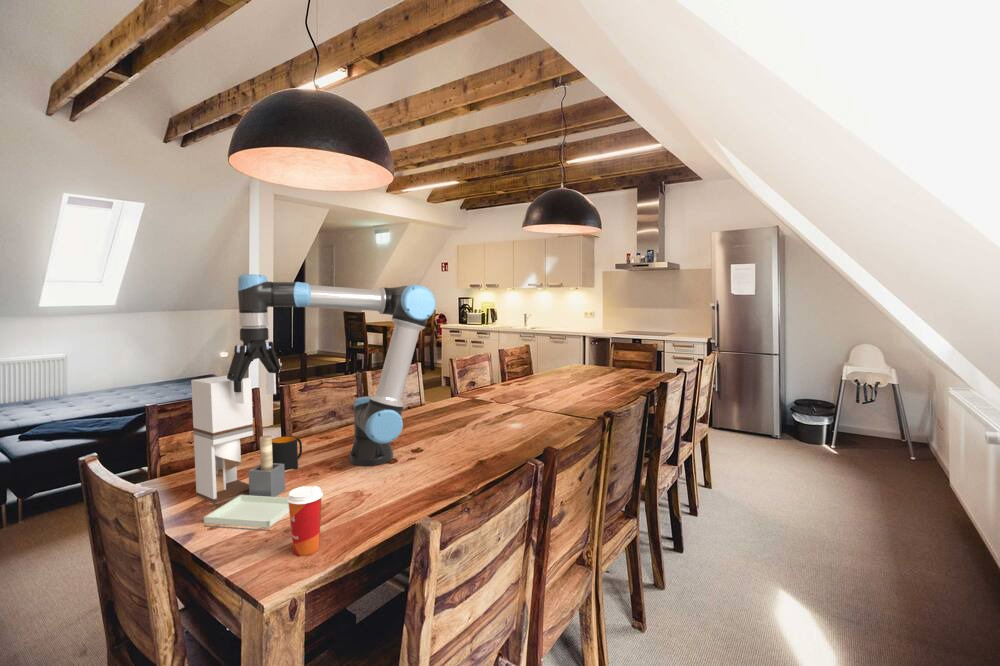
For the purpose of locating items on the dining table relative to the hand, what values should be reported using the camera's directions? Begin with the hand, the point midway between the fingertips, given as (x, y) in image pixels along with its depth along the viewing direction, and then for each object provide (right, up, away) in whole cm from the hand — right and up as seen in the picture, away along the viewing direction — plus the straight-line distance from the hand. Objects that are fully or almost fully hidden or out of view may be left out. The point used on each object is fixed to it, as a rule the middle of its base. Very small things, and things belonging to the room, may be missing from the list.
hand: (256, 398), depth 141 cm
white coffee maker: (-8, -29, -1) cm, 30 cm away
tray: (+7, -30, -14) cm, 34 cm away
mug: (-1, -27, +23) cm, 36 cm away
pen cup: (+4, -29, -2) cm, 29 cm away
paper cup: (+28, -31, -31) cm, 52 cm away
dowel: (+4, -28, -2) cm, 28 cm away
